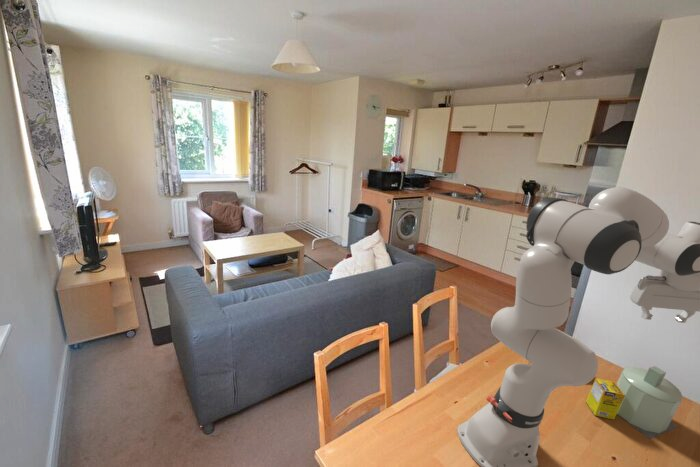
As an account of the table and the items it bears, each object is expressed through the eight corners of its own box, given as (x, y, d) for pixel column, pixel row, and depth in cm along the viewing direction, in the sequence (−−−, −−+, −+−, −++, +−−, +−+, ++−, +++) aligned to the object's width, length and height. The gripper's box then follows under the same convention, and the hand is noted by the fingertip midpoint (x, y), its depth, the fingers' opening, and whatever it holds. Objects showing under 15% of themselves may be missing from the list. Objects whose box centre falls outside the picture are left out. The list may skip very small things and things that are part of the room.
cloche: (649, 437, 98) (672, 392, 92) (601, 401, 110) (619, 359, 104) (675, 425, 103) (699, 382, 97) (626, 392, 115) (645, 351, 109)
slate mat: (649, 440, 97) (650, 439, 97) (598, 401, 110) (599, 400, 110) (677, 427, 103) (677, 426, 102) (625, 392, 116) (626, 391, 116)
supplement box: (614, 421, 103) (626, 395, 99) (593, 417, 104) (604, 391, 100) (604, 407, 108) (615, 381, 105) (584, 402, 109) (595, 377, 106)
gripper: (651, 280, 87) (633, 322, 92) (731, 287, 85) (709, 330, 90) (633, 270, 93) (618, 310, 98) (709, 276, 91) (689, 317, 96)
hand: (662, 319), depth 94 cm, fingers open, 8 cm apart
